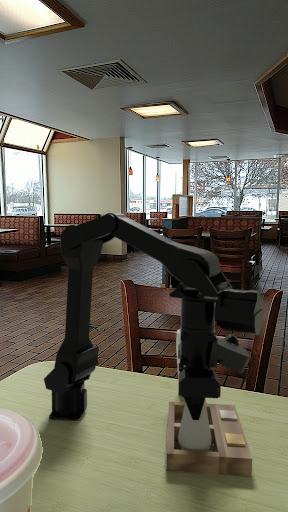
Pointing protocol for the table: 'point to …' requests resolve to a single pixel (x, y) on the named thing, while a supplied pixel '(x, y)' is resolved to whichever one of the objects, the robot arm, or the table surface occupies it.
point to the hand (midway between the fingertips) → (195, 413)
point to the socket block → (222, 436)
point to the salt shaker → (194, 431)
